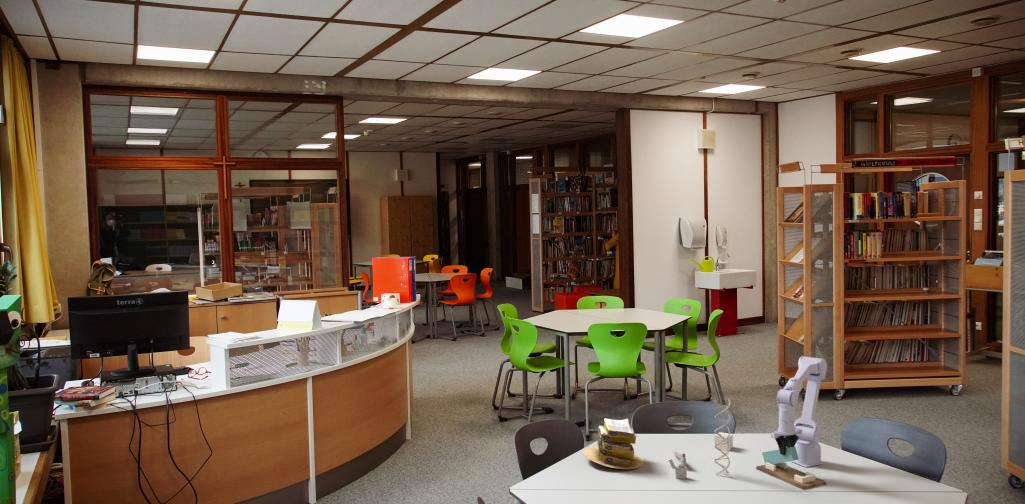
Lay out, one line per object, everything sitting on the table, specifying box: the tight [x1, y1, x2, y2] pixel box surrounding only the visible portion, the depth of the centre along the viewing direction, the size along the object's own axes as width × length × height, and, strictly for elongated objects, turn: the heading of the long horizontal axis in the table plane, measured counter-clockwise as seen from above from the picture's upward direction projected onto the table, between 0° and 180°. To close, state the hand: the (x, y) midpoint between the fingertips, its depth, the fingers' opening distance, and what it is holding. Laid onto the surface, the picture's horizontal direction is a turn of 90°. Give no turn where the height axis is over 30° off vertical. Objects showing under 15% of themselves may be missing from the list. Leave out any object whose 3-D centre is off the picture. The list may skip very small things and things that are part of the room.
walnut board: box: [755, 463, 827, 490], centre depth 278 cm, size 12×24×1 cm, turn 25°
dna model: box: [714, 398, 731, 475], centre depth 281 cm, size 7×6×30 cm
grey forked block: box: [667, 457, 688, 480], centre depth 277 cm, size 7×2×8 cm, turn 87°
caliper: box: [673, 450, 687, 468], centre depth 296 cm, size 20×1×6 cm, turn 178°
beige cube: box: [713, 431, 734, 452], centre depth 312 cm, size 6×6×6 cm
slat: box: [761, 446, 799, 464], centre depth 282 cm, size 3×16×5 cm, turn 24°
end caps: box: [764, 462, 817, 483], centre depth 278 cm, size 7×19×2 cm, turn 25°
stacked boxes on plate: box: [583, 417, 644, 470], centre depth 296 cm, size 25×25×17 cm
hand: (786, 453), depth 279 cm, fingers closed on slat, 3 cm apart
